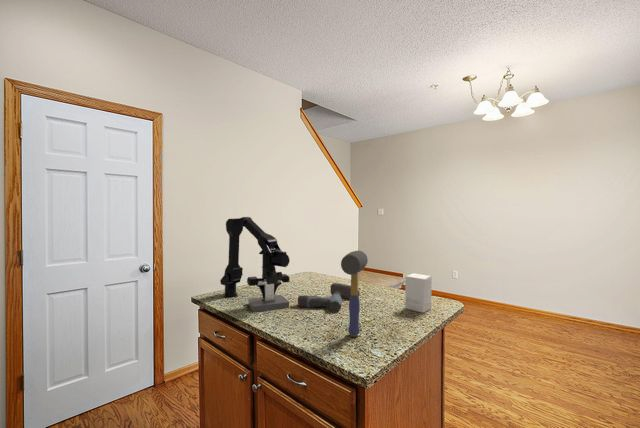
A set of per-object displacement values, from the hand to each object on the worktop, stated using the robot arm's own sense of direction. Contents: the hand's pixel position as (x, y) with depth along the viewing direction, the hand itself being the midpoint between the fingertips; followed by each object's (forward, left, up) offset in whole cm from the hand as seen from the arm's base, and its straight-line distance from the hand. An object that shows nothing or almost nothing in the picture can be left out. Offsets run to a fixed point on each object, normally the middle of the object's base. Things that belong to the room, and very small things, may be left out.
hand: (268, 298), depth 134 cm
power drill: (+8, +23, -4) cm, 25 cm away
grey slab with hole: (0, 0, -4) cm, 4 cm away
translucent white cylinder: (0, 0, -2) cm, 2 cm away
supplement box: (+30, +62, -4) cm, 69 cm away
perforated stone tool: (+3, +39, -4) cm, 39 cm away
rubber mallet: (+43, +20, -4) cm, 48 cm away
